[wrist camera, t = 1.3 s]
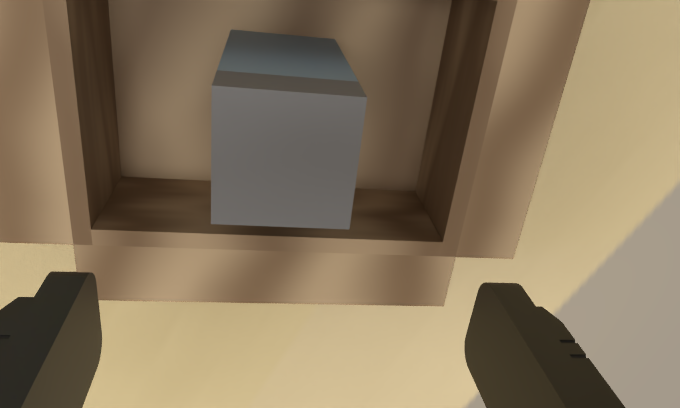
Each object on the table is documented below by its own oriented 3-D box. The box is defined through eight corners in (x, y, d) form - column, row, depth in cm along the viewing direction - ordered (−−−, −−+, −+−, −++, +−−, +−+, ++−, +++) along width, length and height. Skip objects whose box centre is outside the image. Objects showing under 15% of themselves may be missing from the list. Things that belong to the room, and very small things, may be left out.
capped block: (334, 39, 27) (367, 97, 18) (324, 135, 29) (349, 229, 20) (231, 29, 26) (211, 85, 17) (228, 129, 28) (210, 224, 19)
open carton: (546, -94, 25) (619, -98, 20) (462, 246, 34) (498, 307, 29) (-2, -169, 22) (-87, -198, 17) (55, 232, 30) (10, 298, 25)
